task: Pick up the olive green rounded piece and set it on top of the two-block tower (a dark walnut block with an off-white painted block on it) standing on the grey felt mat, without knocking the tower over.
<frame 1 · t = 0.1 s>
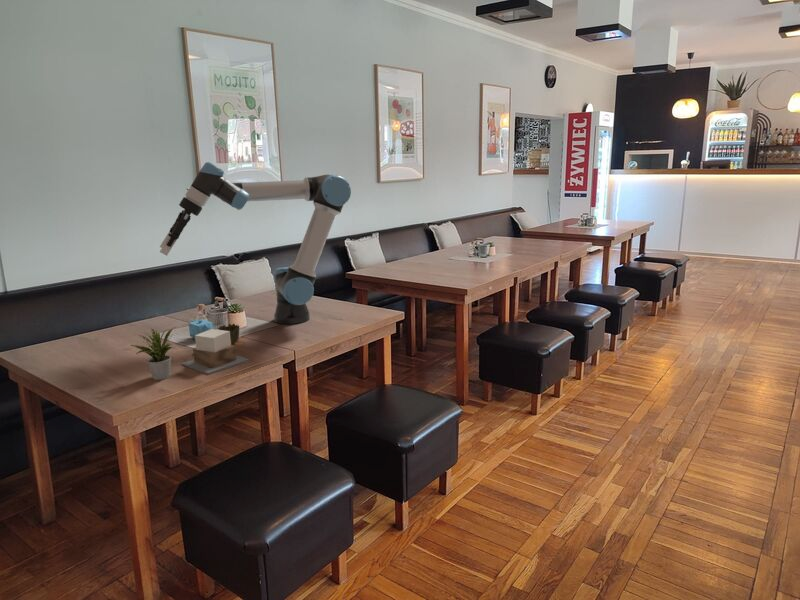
hand: (163, 251, 206), 36 cm above the table, tool tilted 35°, fingers open, 13 cm apart
block top: (214, 347, 193), point 6 cm above the table, touching block base
blue sponge: (201, 338, 222), on the table
block base: (215, 361, 194), point 1 cm above the table, touching block top, felt mat
felt mat: (215, 362, 194), on the table
house plant: (163, 375, 184), on the table
olive green rounded piece: (230, 347, 210), on the table
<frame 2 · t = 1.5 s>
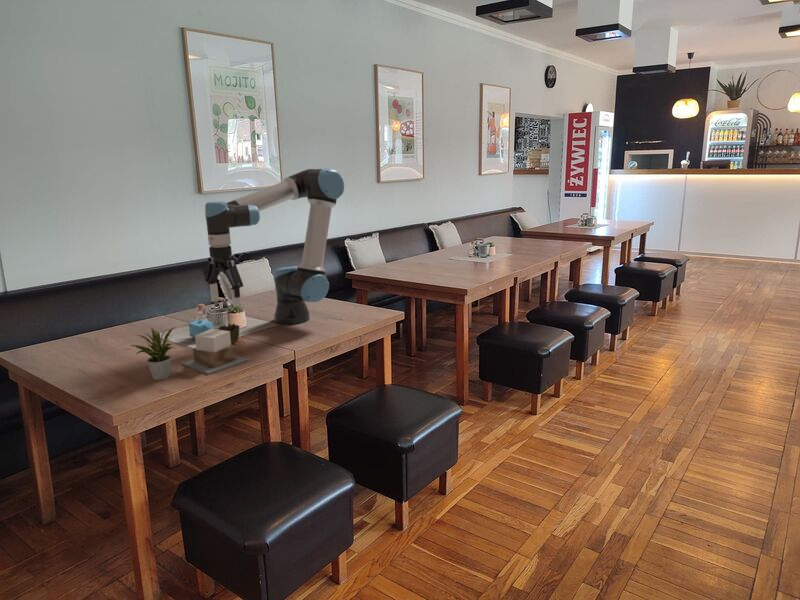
hand: (225, 303, 206), 17 cm above the table, tool pointing down, fingers open, 13 cm apart
nothing on the table moved.
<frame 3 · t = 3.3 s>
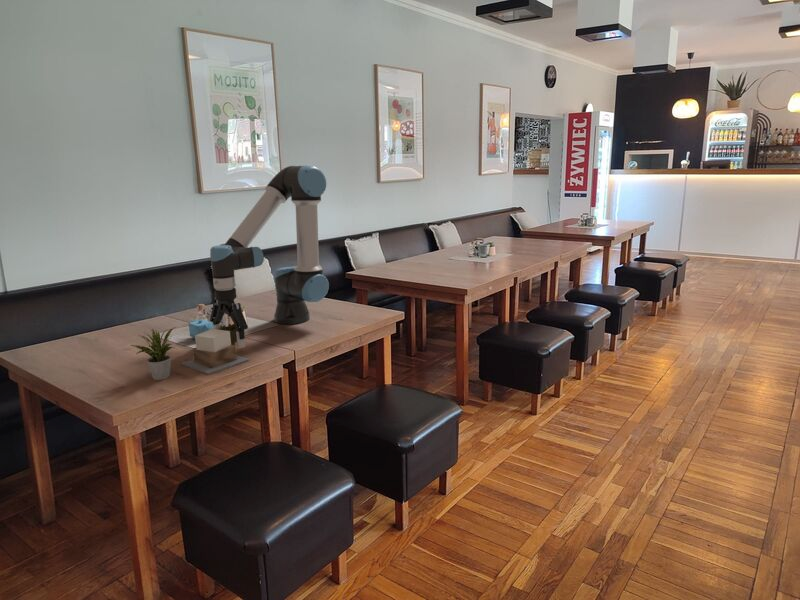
hand: (230, 344, 209), 1 cm above the table, tool pointing down, fingers open, 13 cm apart
nothing on the table moved.
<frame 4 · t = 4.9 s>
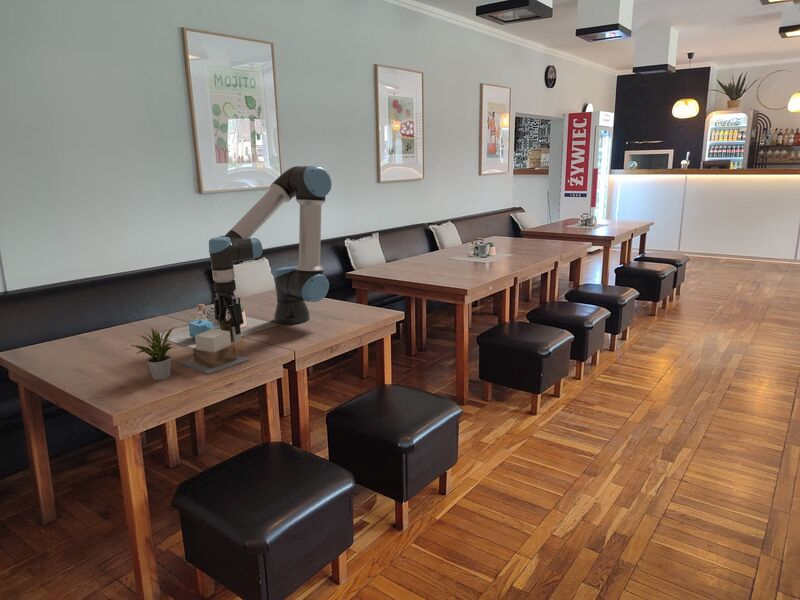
hand: (231, 340, 210), 3 cm above the table, tool pointing down, fingers closed on olive green rounded piece, 7 cm apart
olive green rounded piece: (232, 341, 210), point 2 cm above the table, touching gripper
everything else where it was.
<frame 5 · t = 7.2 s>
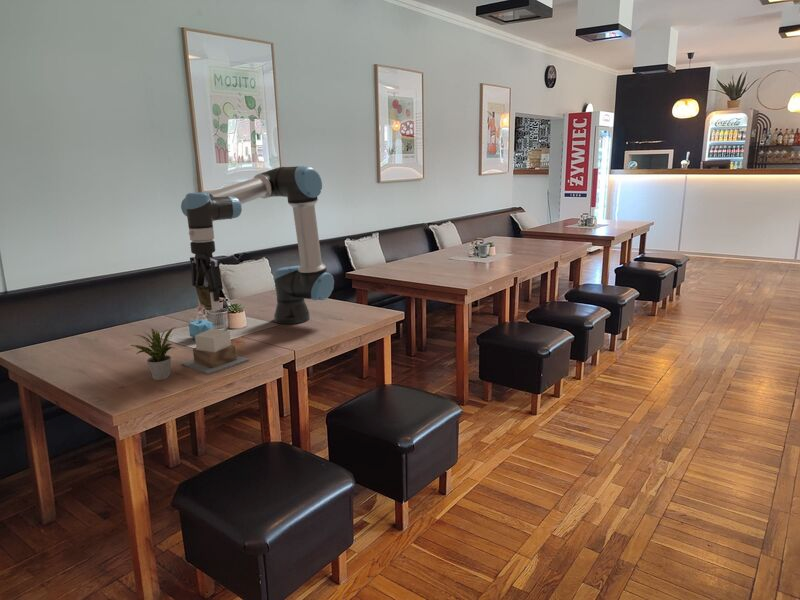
hand: (209, 308, 189), 19 cm above the table, tool pointing down, fingers closed on olive green rounded piece, 7 cm apart
olive green rounded piece: (210, 309, 190), point 19 cm above the table, touching gripper
everything else where it was.
when the fingers open (11 cm above the table, at t = 9.4 s): olive green rounded piece moves 2 cm, resting on block top.
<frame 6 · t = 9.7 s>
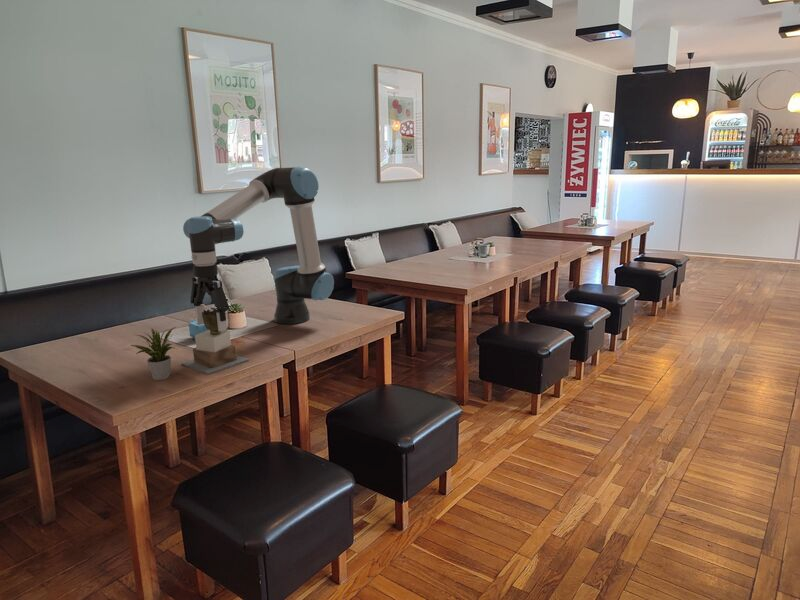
hand: (211, 327, 191), 13 cm above the table, tool pointing down, fingers open, 12 cm apart
block top: (214, 347, 193), point 6 cm above the table, touching block base, olive green rounded piece
olive green rounded piece: (215, 334, 190), point 10 cm above the table, touching block top
everything else where it was.
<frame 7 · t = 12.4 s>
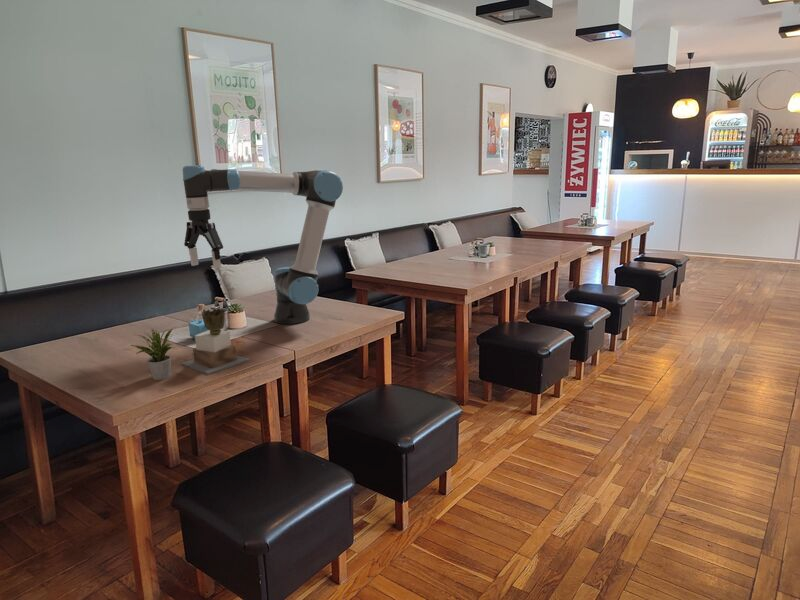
hand: (206, 266, 210), 29 cm above the table, tool pointing down, fingers open, 13 cm apart
nothing on the table moved.
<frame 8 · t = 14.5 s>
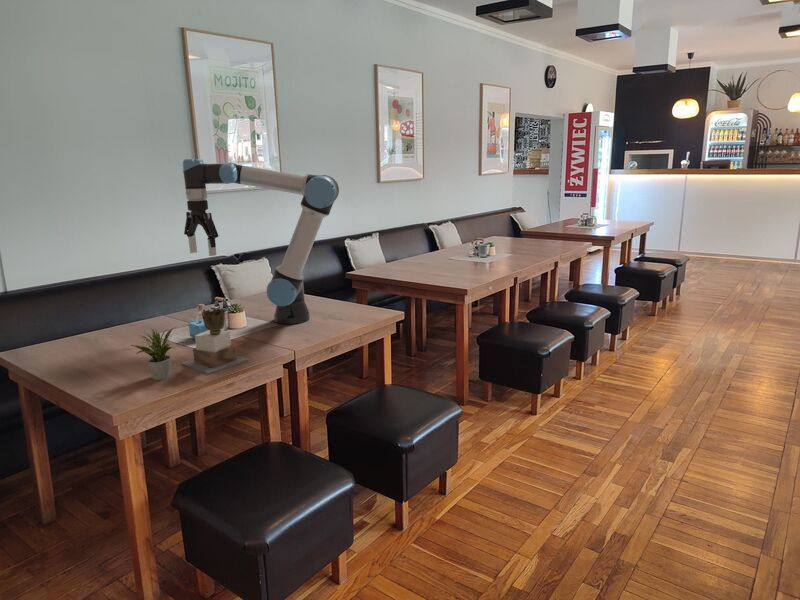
hand: (203, 254, 223), 32 cm above the table, tool pointing down, fingers open, 13 cm apart
nothing on the table moved.
at the end: olive green rounded piece inside the target area on the block top (1.6 cm from its centre), point 4.8 cm above the block top's base; block top tilted 0°; block top inside the target area on the block base (0.0 cm from its centre), point 5.0 cm above the block base's base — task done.
